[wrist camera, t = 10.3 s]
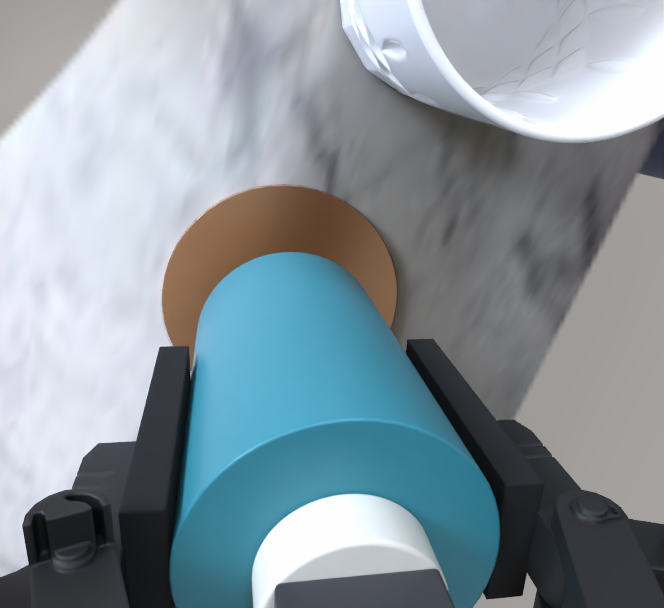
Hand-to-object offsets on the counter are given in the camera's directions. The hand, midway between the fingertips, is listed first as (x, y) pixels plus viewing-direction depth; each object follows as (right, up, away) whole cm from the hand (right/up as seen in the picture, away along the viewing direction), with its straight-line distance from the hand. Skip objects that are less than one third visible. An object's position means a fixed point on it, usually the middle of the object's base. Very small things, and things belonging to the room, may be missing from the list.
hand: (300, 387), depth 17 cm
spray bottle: (-1, +1, +3) cm, 3 cm away
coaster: (-1, +2, +6) cm, 7 cm away
